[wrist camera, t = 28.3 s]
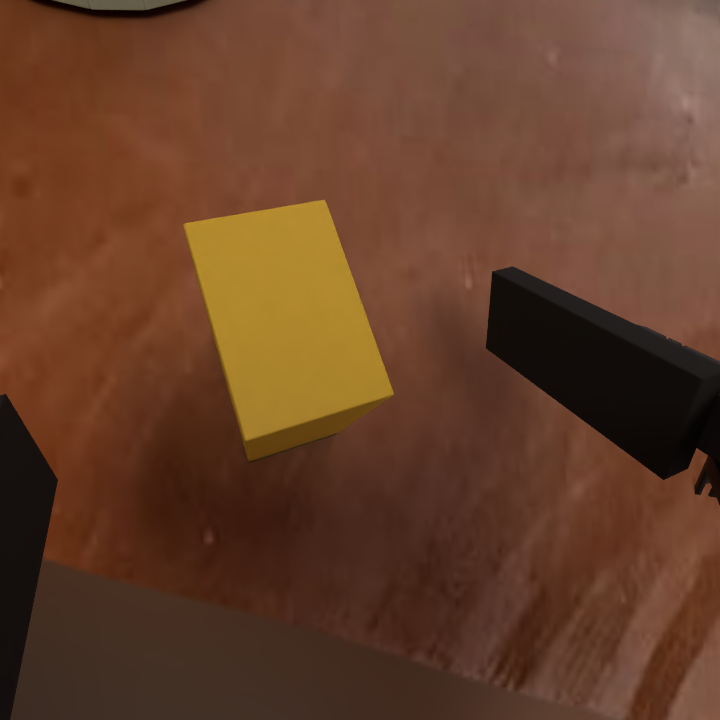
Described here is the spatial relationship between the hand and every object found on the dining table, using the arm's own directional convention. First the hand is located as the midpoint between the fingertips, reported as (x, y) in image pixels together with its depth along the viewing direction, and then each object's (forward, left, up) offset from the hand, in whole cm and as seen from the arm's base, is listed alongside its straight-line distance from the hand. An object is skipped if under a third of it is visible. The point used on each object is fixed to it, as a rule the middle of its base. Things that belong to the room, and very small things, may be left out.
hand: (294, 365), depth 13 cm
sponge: (0, +1, -8) cm, 8 cm away
